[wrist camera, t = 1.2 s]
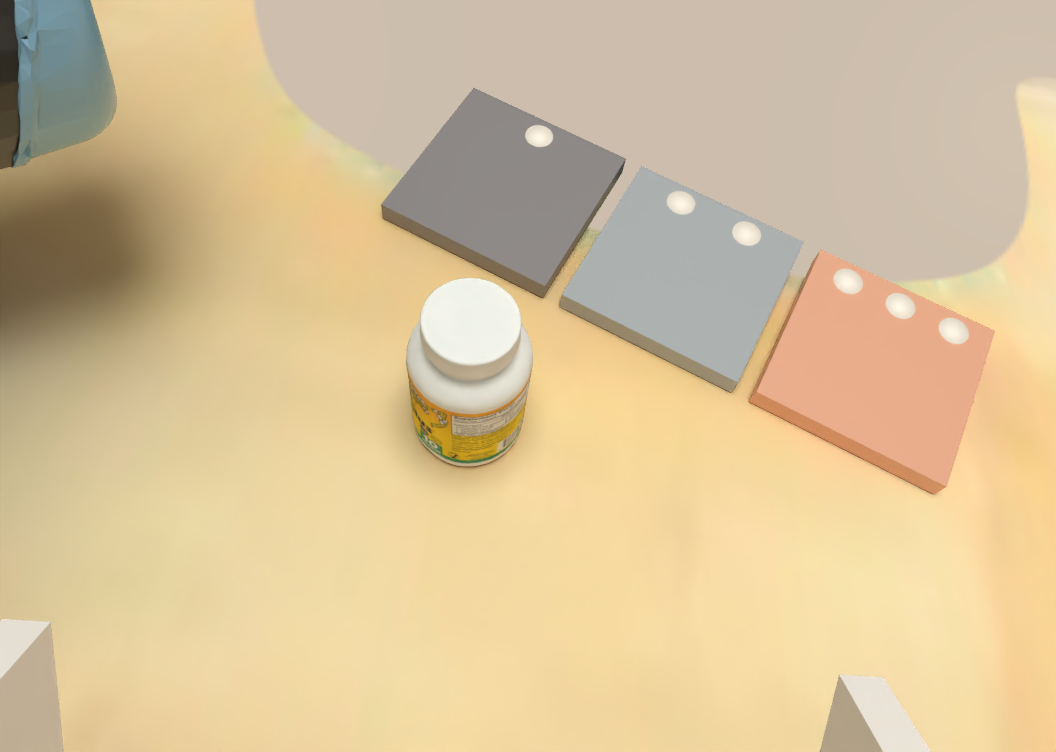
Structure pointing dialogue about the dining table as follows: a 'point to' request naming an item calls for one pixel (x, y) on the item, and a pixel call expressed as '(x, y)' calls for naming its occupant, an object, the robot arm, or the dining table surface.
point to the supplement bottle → (469, 372)
